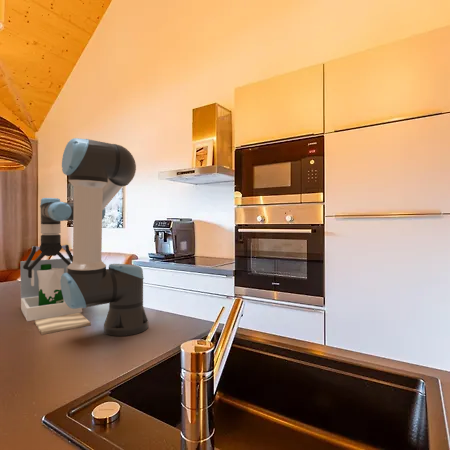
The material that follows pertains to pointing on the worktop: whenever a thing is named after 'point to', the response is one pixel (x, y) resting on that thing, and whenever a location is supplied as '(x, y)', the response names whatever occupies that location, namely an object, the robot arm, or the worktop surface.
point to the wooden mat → (61, 323)
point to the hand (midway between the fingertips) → (50, 283)
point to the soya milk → (50, 285)
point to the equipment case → (32, 294)
